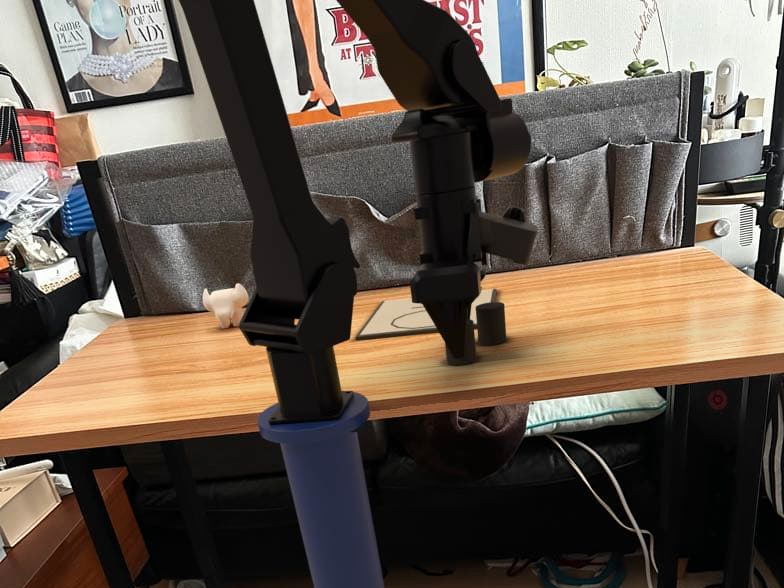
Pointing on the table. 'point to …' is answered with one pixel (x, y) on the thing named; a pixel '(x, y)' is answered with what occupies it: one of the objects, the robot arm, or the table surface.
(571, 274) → the table surface
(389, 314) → the sketch board
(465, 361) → the eye puck
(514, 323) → the table surface
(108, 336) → the table surface
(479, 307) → the eye puck
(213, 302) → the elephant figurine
